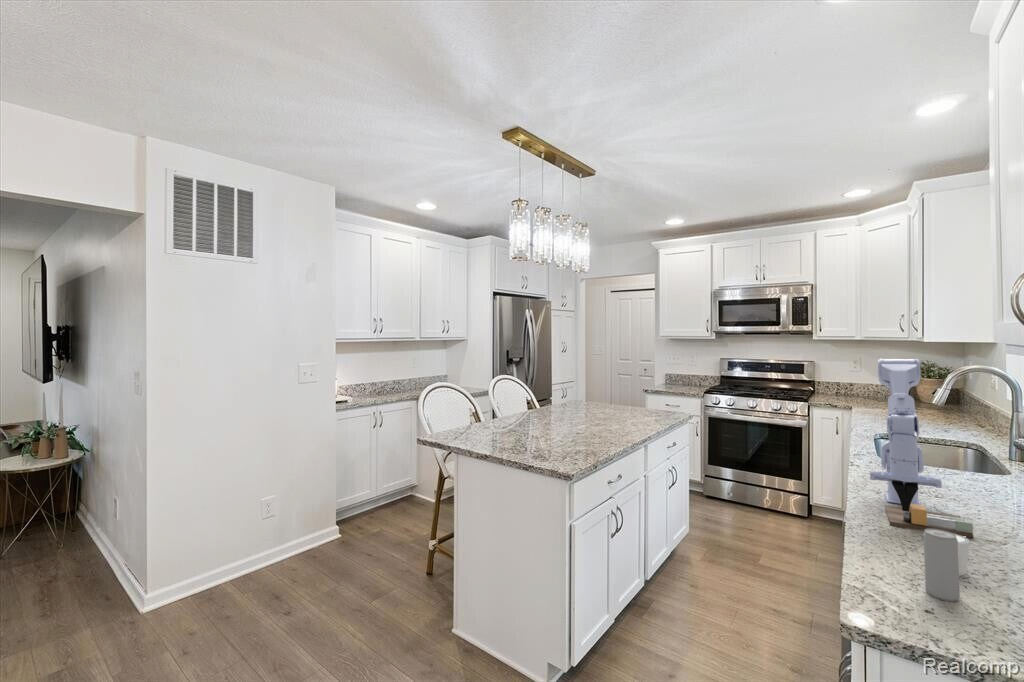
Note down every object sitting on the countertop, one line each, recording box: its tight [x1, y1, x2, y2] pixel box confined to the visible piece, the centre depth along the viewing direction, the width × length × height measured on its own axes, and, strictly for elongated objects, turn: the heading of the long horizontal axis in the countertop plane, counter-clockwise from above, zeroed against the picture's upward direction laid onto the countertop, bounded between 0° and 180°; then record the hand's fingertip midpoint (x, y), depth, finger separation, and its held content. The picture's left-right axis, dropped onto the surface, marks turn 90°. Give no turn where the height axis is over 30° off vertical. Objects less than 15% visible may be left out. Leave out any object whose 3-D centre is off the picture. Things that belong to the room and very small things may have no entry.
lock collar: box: [909, 504, 928, 526], centre depth 121 cm, size 4×3×4 cm
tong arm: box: [927, 514, 966, 521], centre depth 120 cm, size 2×10×2 cm, turn 59°
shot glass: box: [953, 533, 971, 576], centre depth 99 cm, size 7×7×7 cm
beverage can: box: [923, 529, 961, 603], centre depth 88 cm, size 5×5×12 cm
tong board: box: [884, 504, 974, 539], centre depth 124 cm, size 15×16×3 cm
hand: (905, 510), depth 123 cm, fingers closed
